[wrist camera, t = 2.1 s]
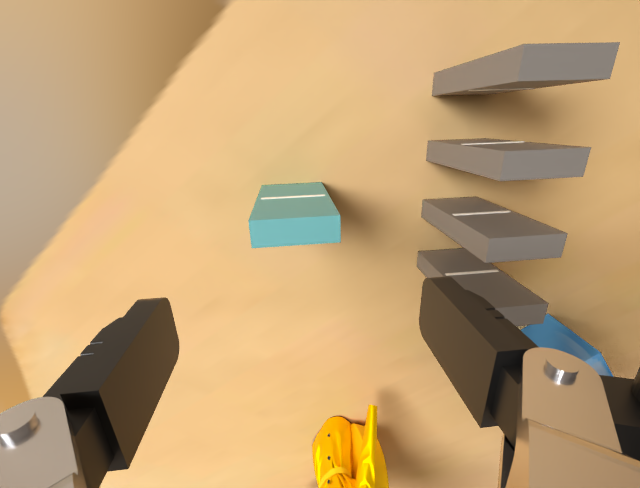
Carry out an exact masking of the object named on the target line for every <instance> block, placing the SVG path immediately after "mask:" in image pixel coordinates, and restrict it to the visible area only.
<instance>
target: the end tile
mask: <svg viewBox="0 0 640 488" xmlns="http://www.w3.org/2000/svg"><path fill="white" fill-rule="evenodd" d="M249 229H250V237H251V245H252V248H261V247H277V246H292V245H307V244H322V243H337V242H341V233H340V214H339V212H338V210H337V208H336V207H335V205H334V203H333V201H332V200H331V198H330V196H329V194H328V193H327V191H326V189H325V187H324V186H323V184H322V182H316V183H296V184H276V185H262V186H261V189H260V192H259V194H258V197H257V200H256V202H255V205H254V208H253V210H252V213H251V215H250V218H249Z"/></svg>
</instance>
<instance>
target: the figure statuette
mask: <svg viewBox="0 0 640 488" xmlns="http://www.w3.org/2000/svg"><path fill="white" fill-rule="evenodd" d="M312 449H313V463H314V470H315V475H316V479H317V483H318V488H389V483H388V475H387V468H386V463H385V459H384V455H383V452H382V448H381V446H380V443H379V441H378V439H377V406H374V405H369V407H368V412H367V418H366V424H365V426H362V425H358V424H354V423H353V424H350V422H348V421H347V420H346V419H344V418H343V417H332V418H329V419H328V420H327V421H326V422H325V423H324V425H323V426H322V428H321V430H320V431H319V433H318V434H317V436H316V438H315V441H314V443H313V445H312Z"/></svg>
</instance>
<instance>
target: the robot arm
mask: <svg viewBox="0 0 640 488" xmlns="http://www.w3.org/2000/svg"><path fill="white" fill-rule="evenodd" d="M419 324H420V330H421V334H422V336H423V338H424V340H425V342H426V343H427V345H428V346H429V348H430V349H431V351H432V353H433V354H434V356H435V357H436V359H437V360H438V362H439V364H440V365H441V367H442V368H443V370H444V371H445V373H446V375H447V376H448V378H449V379H450V381H451V382H452V384H453V386H454V387H455V389H456V390H457V392H458V393H459V395H460V397H461V398H462V400H463V401H464V403H465V404H466V406H467V408H468V409H469V411H470V412H471V414H472V415H473V417H474V419H475V420H476V422H477V423H478V425H479V426H480V428H483V427H492V426H499V427H500V428H501V430H502V431H503V437H502V441H501V451H500V463H499V476H498V488H640V368H639V370H638V372H637V375H636V377H635V379H626V378H619V377H612V376H604V375H599V374H598V373H597V372H596V371H595V370H594V369H593V368H592V367H591V366H590V365H589V364H587V363H586V362H584V361H583V360H581V359H579V358H577V357H575V356H573V355H571V354H569V353H566V352H563V351H560V350H556V349H552V348H543V347H538V346H537V345H536V344H535V343H534V342H533V341H532V340H531V339H530V338H528V337H527V336H526V335H525V334H524V333H523V332H522V331H521V330H519V329H518V328H517V327H516V326H515V325H514V324H513V323H512V322H510V321H509V320H508V319H505V316H504V315H503V314H501V313H500V312H499V311H498V310H495V307H494V306H492V305H491V304H490V303H489V302H488V301H487V300H486V299H485V298H483V297H481V296H479V295H477V294H475V293H473V292H471V291H469V290H465V289H464V288H463V287H462V286H460V285H459V284H458V283H457V282H456V281H455V280H454V279H453V278H452V277H450V276H444V277H431V278H426V279H425V280H424V282H423V287H422V297H421V307H420V317H419ZM178 355H179V339H178V335H177V331H176V326H175V322H174V318H173V314H172V310H171V305H170V302H169V300H168V299H167V298H153V299H140V300H137V301H136V302H135V304H134V305H133V306H132V307H131V308H130V310H129V311H128V312H127V313H126V315H125V316H124V317H123V318H118V319H116V320H115V321H114V322H112V323H111V324H109V325H108V326H106V327H105V328H103V329H102V330H101V331H100V332H99V333H98V334H97V335H96V337H95V338H94V339H93V340H92V341H91V342H90V345H88V346H87V347H86V348H85V349H84V350H83V351H82V353H81V356H79V357H77V358H76V359H75V361H74V362H73V363H72V364H71V365H70V366H69V367H68V368H67V370H66V371H65V372H64V373H63V374H62V375H61V376H60V378H59V379H58V380H57V381H56V382H55V383H54V384H53V386H52V387H51V388H50V389H49V390H48V391H47V392H46V394H45V395H44V396H43V397H40V398H36V399H32V400H29V401H26V402H23V403H20V404H18V405H16V406H14V407H12V408H10V409H8V410H6V411H4V412H2V413H1V414H0V488H100V485H101V483H102V481H103V479H104V477H105V475H106V473H107V471H115V470H123V469H129V466H130V464H131V462H132V460H133V457H134V455H135V453H136V451H137V449H138V446H139V444H140V442H141V440H142V437H143V435H144V433H145V431H146V429H147V426H148V424H149V422H150V420H151V417H152V415H153V413H154V411H155V409H156V406H157V404H158V402H159V400H160V398H161V395H162V393H163V391H164V389H165V386H166V384H167V382H168V380H169V378H170V375H171V373H172V371H173V369H174V366H175V364H176V362H177V359H178Z"/></svg>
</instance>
